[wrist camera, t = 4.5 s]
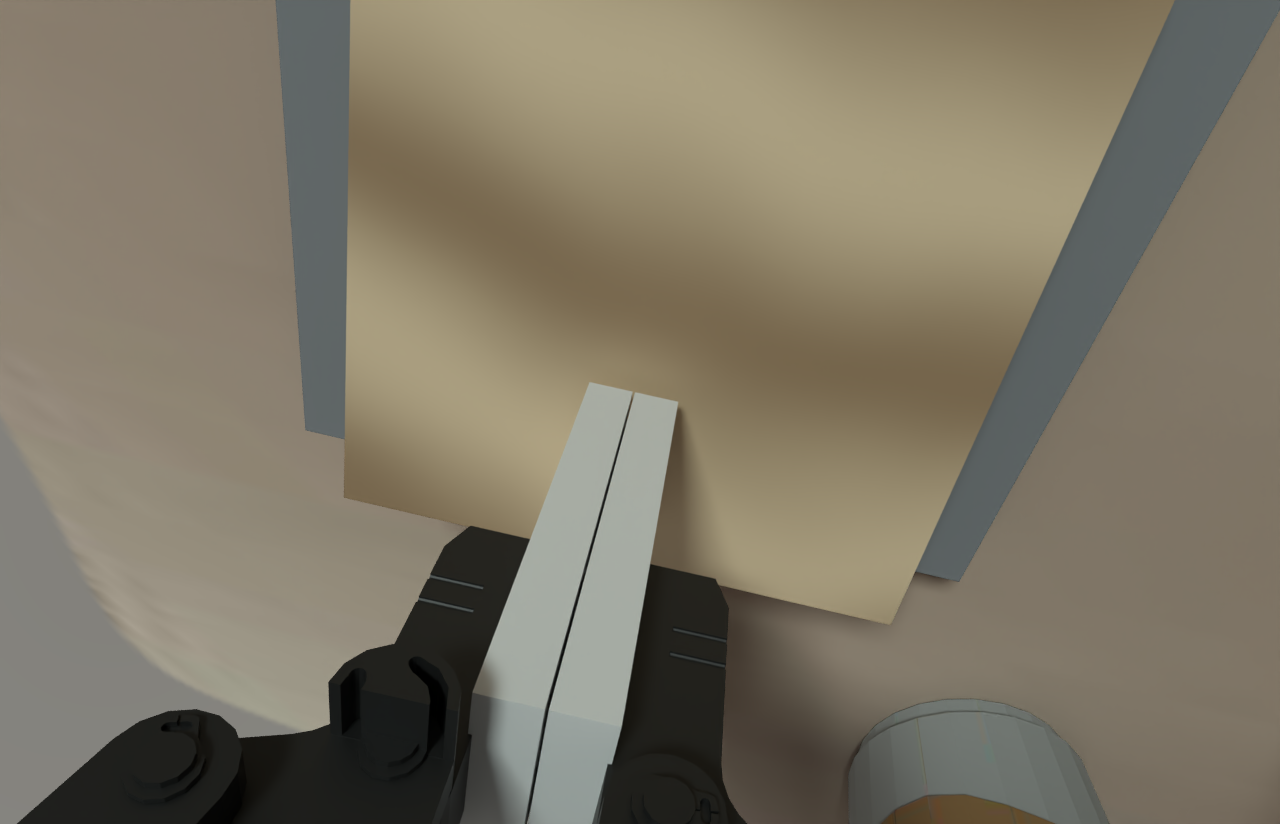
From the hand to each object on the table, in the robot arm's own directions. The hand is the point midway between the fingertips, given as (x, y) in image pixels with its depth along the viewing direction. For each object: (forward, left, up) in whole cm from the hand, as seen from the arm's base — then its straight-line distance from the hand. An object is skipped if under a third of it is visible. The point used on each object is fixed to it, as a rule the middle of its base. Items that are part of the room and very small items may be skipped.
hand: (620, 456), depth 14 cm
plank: (-3, 0, -2) cm, 4 cm away
